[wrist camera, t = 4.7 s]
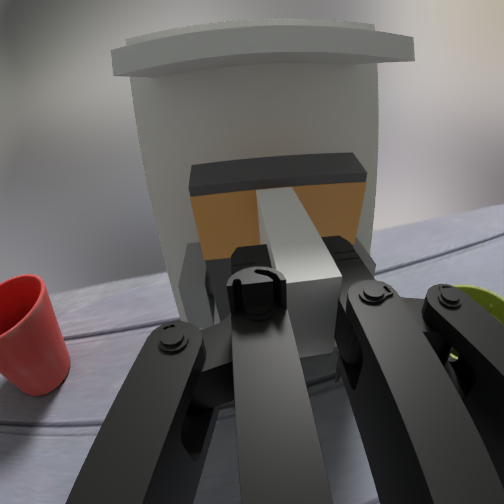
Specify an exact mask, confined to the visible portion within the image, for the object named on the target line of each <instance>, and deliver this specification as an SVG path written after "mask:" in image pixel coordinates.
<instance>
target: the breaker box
mask: <svg viewBox="0 0 504 504" xmlns="http://www.w3.org/2000/svg"><path fill="white" fill-rule="evenodd" d="M126 45H127V46H124V47H121V48H117V49H113V50H111V56H112V66H113V74H114V76H128V77H130V82H131V90H132V97H133V104H134V111H135V117H136V124H137V130H138V137H139V143H140V148H141V154H142V160H143V165H144V170H145V176H146V181H147V186H148V191H149V195H150V200H151V205H152V209H153V214H154V218H155V223H156V227H157V231H158V236H159V240H160V244H161V248H162V252H163V256H164V260H165V264H166V268H167V272H168V276H169V280H170V283H171V287H172V291H173V294H174V298H175V301H176V305H177V308H178V312H179V315H180V319H181V321H184V322H188V323H192V324H193V325H195V326H196V327H198V328H199V330H202V329H205V328H208V327H211V326H213V325H215V324H218V323H219V322H220V318H219V314H218V310H217V307H216V303H215V299H214V295H210V292H209V284H208V280H209V275H208V271H207V267H206V263H205V260H204V257H203V253H202V249H201V244H200V240H199V236H198V232H197V227H196V223H195V219H194V214H193V210H192V205H191V201H190V193H189V188H188V186H189V179H190V172H191V165H195V164H203V163H211V162H220V161H229V160H238V159H249V158H260V157H272V156H285V155H301V154H320V153H349V152H353V153H354V155H355V156H356V158H357V159H358V160H359V162H360V163H361V164H362V166H363V167H364V169H365V170H366V172H367V178H366V182H367V183H366V189H365V194H364V200H363V205H362V210H361V215H360V220H359V225H358V230H357V235H356V239H355V244H354V245H353V248H354V249H355V252H357V253H358V255H359V256H360V259H362V261H363V262H364V264H365V265H366V267H367V268H368V270H369V271H370V273H371V274H372V276H373V277H374V274H375V267H376V264H375V262H374V261H373V260H372V258H371V257H370V248H371V239H372V230H373V219H374V208H375V195H376V180H377V160H378V72H377V63H383V62H403V61H404V62H405V61H415V59H414V42H413V37H409V36H404V35H398V34H392V33H386V32H379V31H375V28H374V24H366V23H358V22H348V21H337V20H322V19H253V20H238V21H226V22H217V23H209V24H200V25H193V26H187V27H181V28H175V29H170V30H164V31H160V32H155V33H150V34H146V35H141V36H137V37H133V38H129V39H126ZM334 347H337V344H336V341H335V344H334Z"/></svg>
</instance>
